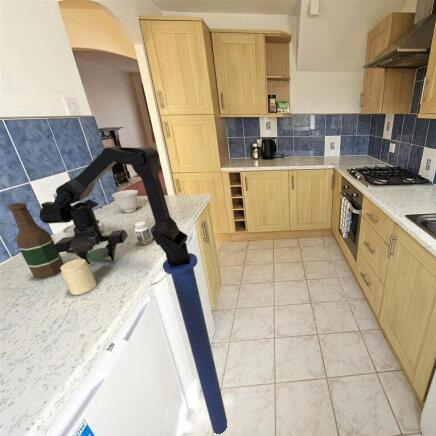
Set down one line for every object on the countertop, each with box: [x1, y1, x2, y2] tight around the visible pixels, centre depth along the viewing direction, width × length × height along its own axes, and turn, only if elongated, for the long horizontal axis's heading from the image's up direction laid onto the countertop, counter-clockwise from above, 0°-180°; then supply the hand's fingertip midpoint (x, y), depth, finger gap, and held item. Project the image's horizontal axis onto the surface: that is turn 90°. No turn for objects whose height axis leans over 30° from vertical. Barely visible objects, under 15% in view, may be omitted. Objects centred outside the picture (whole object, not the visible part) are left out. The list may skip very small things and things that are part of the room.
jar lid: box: [86, 247, 110, 263], centre depth 83 cm, size 7×7×2 cm
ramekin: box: [61, 219, 106, 238], centre depth 99 cm, size 13×13×7 cm
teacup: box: [111, 189, 139, 213], centre depth 132 cm, size 12×15×10 cm
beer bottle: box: [8, 202, 65, 279], centre depth 76 cm, size 8×8×24 cm
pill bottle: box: [133, 221, 153, 246], centre depth 97 cm, size 5×5×8 cm
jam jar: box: [60, 258, 97, 296], centre depth 71 cm, size 6×6×8 cm
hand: (101, 262), depth 84 cm, fingers closed on jar lid, 7 cm apart
